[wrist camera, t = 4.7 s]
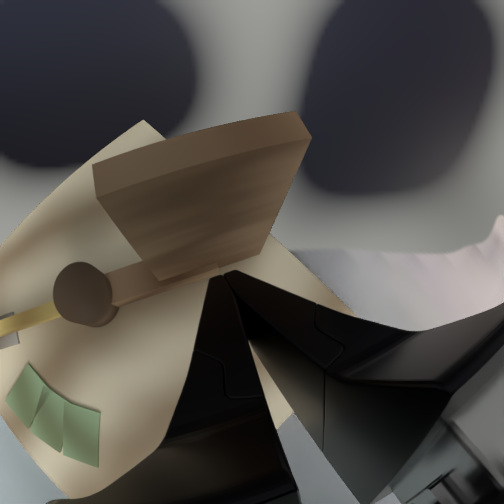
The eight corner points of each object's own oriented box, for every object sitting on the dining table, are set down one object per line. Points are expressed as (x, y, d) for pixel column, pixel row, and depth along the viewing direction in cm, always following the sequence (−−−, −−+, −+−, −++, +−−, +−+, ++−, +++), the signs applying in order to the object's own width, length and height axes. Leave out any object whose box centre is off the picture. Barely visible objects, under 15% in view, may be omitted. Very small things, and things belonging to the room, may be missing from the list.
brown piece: (-3, 358, 13) (-123, 342, 3) (-12, 312, 14) (-124, 272, 4) (266, 270, 17) (329, 168, 7) (246, 222, 17) (280, 87, 8)
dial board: (359, 327, 17) (367, 325, 16) (128, 538, 11) (124, 547, 10) (145, 128, 20) (142, 117, 19) (-43, 315, 14) (-52, 312, 13)
